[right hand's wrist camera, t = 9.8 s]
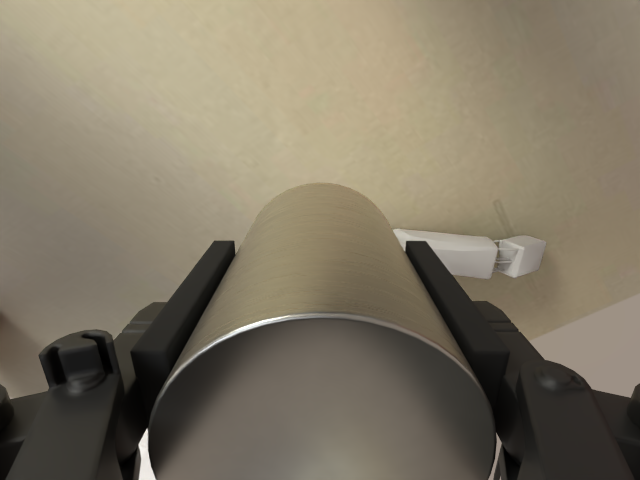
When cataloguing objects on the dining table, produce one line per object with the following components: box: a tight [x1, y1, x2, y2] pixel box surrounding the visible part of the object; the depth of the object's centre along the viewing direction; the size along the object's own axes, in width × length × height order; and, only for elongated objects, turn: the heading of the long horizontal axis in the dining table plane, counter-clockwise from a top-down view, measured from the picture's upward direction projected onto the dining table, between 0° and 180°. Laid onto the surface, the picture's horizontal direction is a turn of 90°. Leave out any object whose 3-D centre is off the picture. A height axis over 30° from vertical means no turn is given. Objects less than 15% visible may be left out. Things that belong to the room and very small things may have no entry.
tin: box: [148, 183, 497, 480], centre depth 11 cm, size 6×6×10 cm
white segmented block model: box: [393, 229, 546, 279], centre depth 37 cm, size 20×4×7 cm, turn 87°
